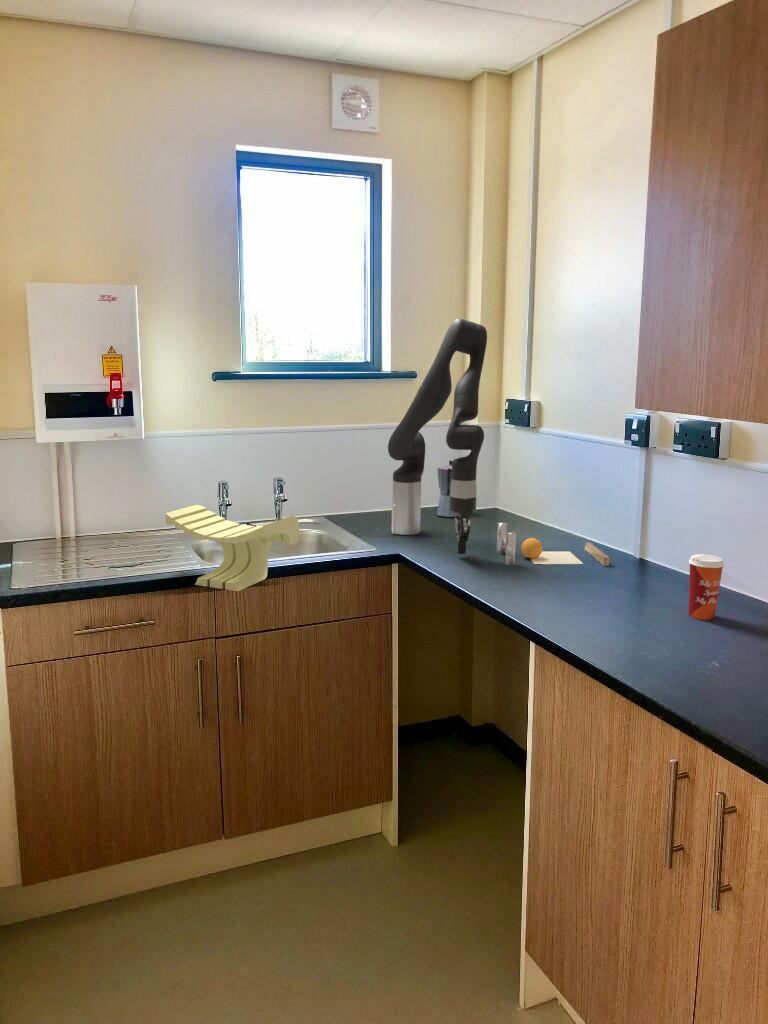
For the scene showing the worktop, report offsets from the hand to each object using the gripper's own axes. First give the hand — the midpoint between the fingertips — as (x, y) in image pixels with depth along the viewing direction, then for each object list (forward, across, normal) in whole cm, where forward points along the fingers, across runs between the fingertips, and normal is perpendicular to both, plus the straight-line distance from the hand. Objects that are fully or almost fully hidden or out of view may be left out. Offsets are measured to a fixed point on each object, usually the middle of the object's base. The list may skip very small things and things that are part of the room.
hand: (461, 553), depth 242 cm
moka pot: (+2, -60, +5) cm, 60 cm away
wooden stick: (+2, 0, +40) cm, 40 cm away
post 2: (+2, +7, +13) cm, 15 cm away
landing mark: (+2, 0, +27) cm, 27 cm away
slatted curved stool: (+2, +21, -63) cm, 66 cm away
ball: (-2, 0, +21) cm, 21 cm away
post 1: (+2, -7, +13) cm, 15 cm away
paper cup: (+2, +53, +48) cm, 72 cm away
